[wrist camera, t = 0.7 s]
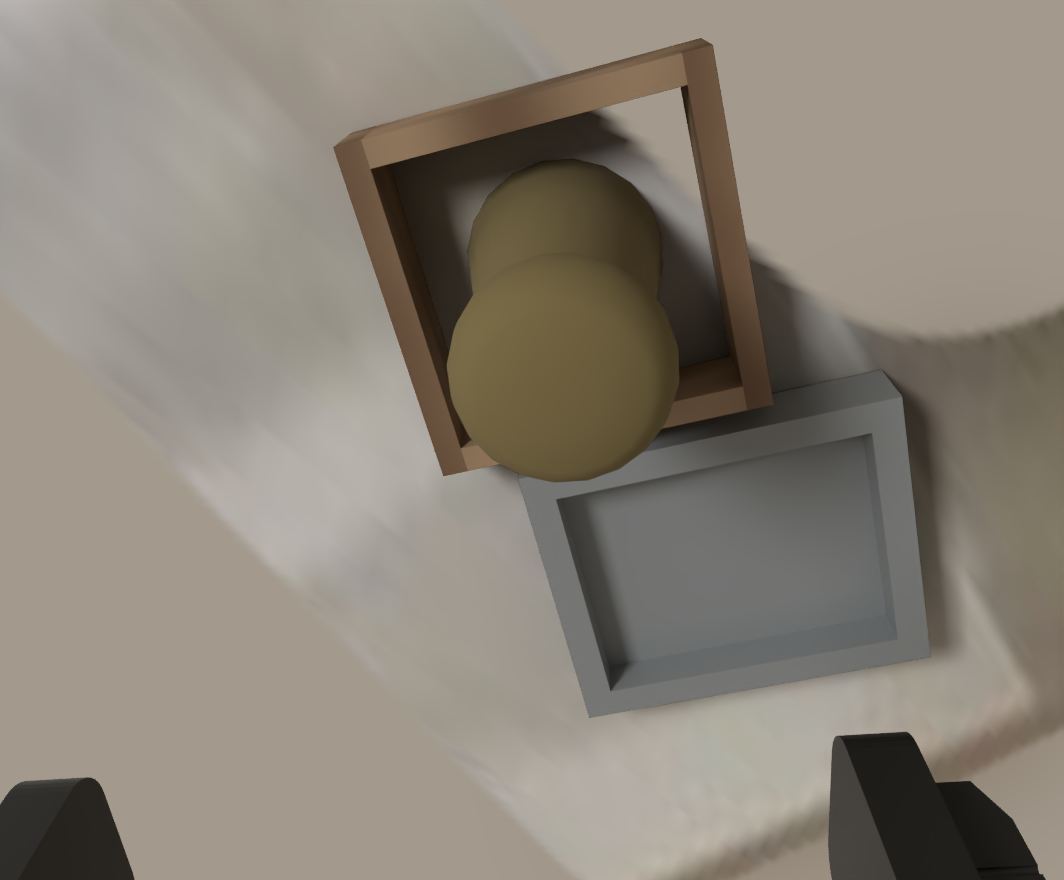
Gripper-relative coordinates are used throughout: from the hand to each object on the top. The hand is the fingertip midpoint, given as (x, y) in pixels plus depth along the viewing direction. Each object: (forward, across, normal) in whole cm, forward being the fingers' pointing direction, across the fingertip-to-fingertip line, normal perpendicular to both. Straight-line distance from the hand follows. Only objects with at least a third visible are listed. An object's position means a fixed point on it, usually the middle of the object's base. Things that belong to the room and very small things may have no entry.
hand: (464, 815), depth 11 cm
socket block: (+22, -1, 0) cm, 22 cm away
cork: (+22, -1, 0) cm, 22 cm away
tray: (+22, -6, +10) cm, 25 cm away
